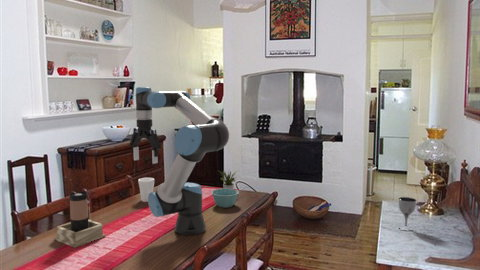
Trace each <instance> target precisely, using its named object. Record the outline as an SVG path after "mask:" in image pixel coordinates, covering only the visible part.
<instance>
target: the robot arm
mask: <svg viewBox="0 0 480 270" xmlns="http://www.w3.org/2000/svg"><path fill="white" fill-rule="evenodd" d="M134 96H135V109H136V110H135V112H136V113H135V114H136V115H135V117H136V127H134V128H133V132H132V136H131V139H130V142H129V146H130V147H132V153H133V161H140V152H139V151H140V150H139V149H140V148H139V144H140V143H141V141H142V139H146V140H147V141H148V143H149V144H150V146H151V148H152V150H151V153H152V158H151V160H152V165H153V164H154V165H155V164H158V163H159V161H158V157H159V150H160V149H162V146H161V142H160V139H159V136H158V132H157V129H152V127H153V119H152V118H153V109H161V108H175V109H176V110H178V111H179V112H180V113H181V114H182V115H184V116H185V117H186V118H187V119H188V120H190V122H192V124H189V125H184V126H181V127H180V128H178V130H177V131H176V134H175V138H174V140H175V141H174V146H175V149H176V152H177V155H176V157H175V158H174V161H173V163H172V165H171V167H170V169H169V171H168V173H167V175H166V178H165V180H164V182H162V183H160V184H159V185H158V186H157V189H156V191H153V192H151V193H149V195H148V202H147V204H148V208H149V210H150V212H151V214H152V215H153V216H154V217H157V218H159V217H165V216H169V215H174V214H177V219H176V220H175V224H174V232H175V233H176V234H178V235H182V236H196V235H200V234H203V233H205V232H206V231H207V224H206V222H205V218H204V215H203V189H202V185H200V184H198V183H195V182H187V181H188V179H189V177H190V175H191V173H192V172H193V169H194V168H195V166H196V164H197V163H199V162H201V161H202V160H203V158H204V156H205V155H206V153H210V152H212V153H214V152H218V151H220V150H223V149H224V148H225V147H226V145H227V144H228V142H229V139H230V132H229V129H228V127H227V125H226V124H225V123H224V122H223V121H222V120H221V119H219V118H217V117H214V116H212V115H211V114H209V113H208V112H206V111H205V110H204V109H203V108H201V107H200V106H199V105H198V104H197V103H195V102H194V101H193V100H191V95H190V94H189V92H188V91H184V90H176V91H174V90H173V91H172V90H171V91H170V90H169V91H152V88H151V87H149V86H140V87H136V88H135V95H134Z"/></svg>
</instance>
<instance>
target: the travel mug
mask: <svg viewBox="0 0 480 270" xmlns="http://www.w3.org/2000/svg"><path fill="white" fill-rule="evenodd" d="M87 200H88V192H86V191H78V192H71V193H69V212H70V213H69V214H70V216H69V218H70V222H71V230H72V231H74V232H78V231H81V230H84V229H87V228H88V204H87Z"/></svg>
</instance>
